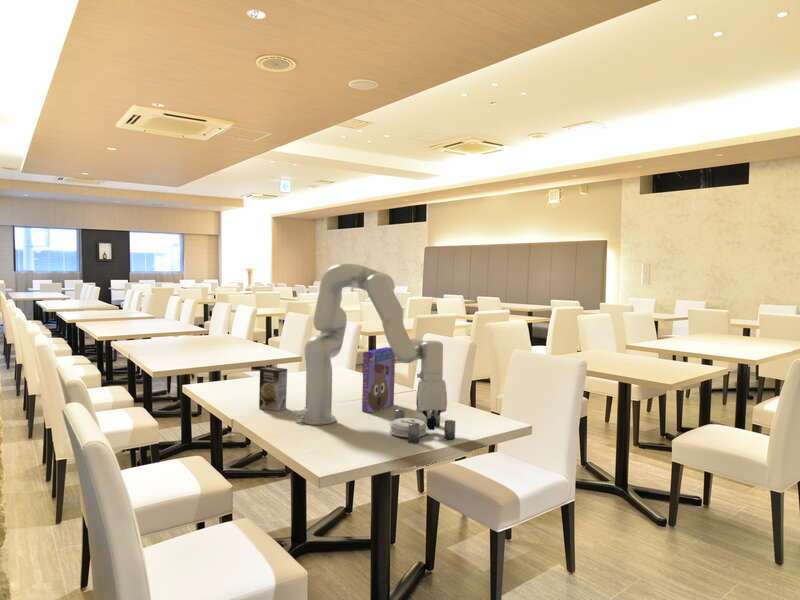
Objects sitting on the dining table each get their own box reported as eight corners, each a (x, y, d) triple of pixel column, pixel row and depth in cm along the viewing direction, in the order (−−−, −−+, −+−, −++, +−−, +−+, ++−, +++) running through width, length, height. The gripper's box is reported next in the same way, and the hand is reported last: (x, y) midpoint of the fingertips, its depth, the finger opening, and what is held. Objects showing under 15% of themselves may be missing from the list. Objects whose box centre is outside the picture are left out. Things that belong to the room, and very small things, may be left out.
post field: (409, 444, 179) (410, 425, 179) (393, 425, 201) (393, 408, 201) (457, 441, 183) (458, 423, 183) (436, 423, 205) (437, 407, 205)
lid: (428, 430, 196) (428, 416, 195) (424, 441, 183) (424, 426, 183) (393, 428, 198) (393, 414, 197) (386, 438, 185) (387, 423, 185)
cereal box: (372, 413, 217) (373, 352, 216) (362, 411, 219) (363, 351, 218) (393, 404, 233) (395, 347, 231) (383, 403, 235) (385, 346, 234)
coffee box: (258, 408, 219) (258, 368, 218) (268, 405, 225) (268, 366, 224) (277, 411, 216) (278, 370, 215) (287, 408, 222) (287, 368, 221)
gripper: (414, 379, 186) (413, 433, 187) (455, 377, 190) (454, 430, 191) (408, 375, 193) (407, 427, 194) (448, 374, 197) (447, 424, 198)
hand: (431, 428), depth 193 cm, fingers closed
